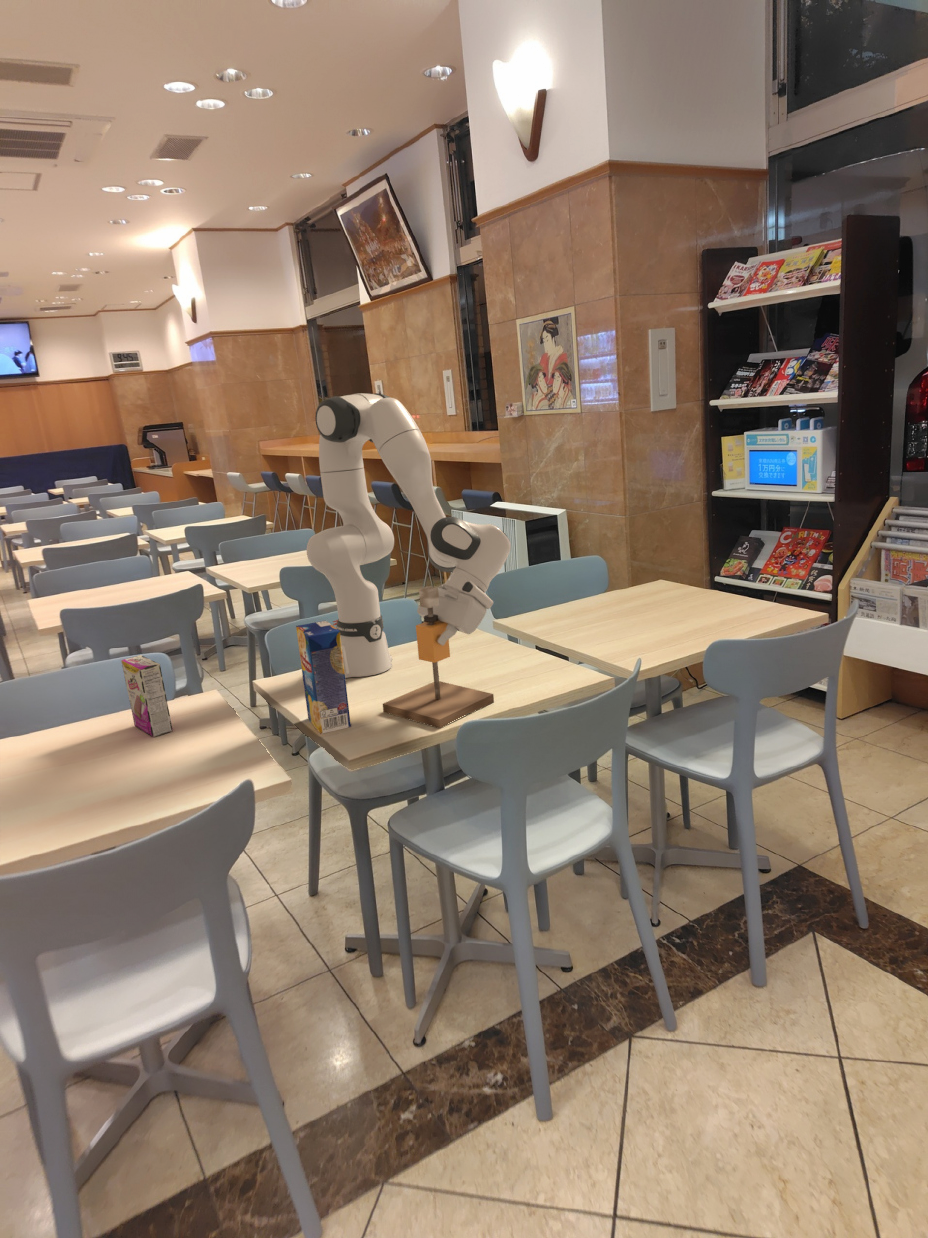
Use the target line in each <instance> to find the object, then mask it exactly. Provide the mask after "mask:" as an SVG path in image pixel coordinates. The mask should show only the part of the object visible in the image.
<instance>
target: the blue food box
mask: <svg viewBox="0 0 928 1238" xmlns="http://www.w3.org/2000/svg"><path fill="white" fill-rule="evenodd" d="M295 628H296V636H297V643H298V651H299V659H300V660H299V661H300V664H301V665H300V666H301V674H302V679H303V682H302V683H303V688H304V689H303V690H304V696H305V702H306V703H305V704H306V711H307V712H306V713H307V718H308V720H309V721H310V722H311V723H312V725H313V726H314V727H315V729H316V730H317V731H318V733H320V734H321V735H323V734H326V733H331V732H335V731H338V730H343V729H347V728H351V727H352V724H351V718H350V717H351V716H350V706H349V701H348V700H349V699H348V689H347V681H346V678H345V672H344V664H343V655H342V647H341V638H340V631H339V630H338V629H336V626H335V625H332V624H331V623H330V622H329V621H328V620H322V621H316V622H315V621H314V622H310V623H305V624H304V623H303V624H299V625H296V626H295Z"/></svg>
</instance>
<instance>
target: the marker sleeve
mask: <svg viewBox="0 0 928 1238" xmlns="http://www.w3.org/2000/svg"><path fill="white" fill-rule="evenodd" d="M446 627H447V623H444V622H440V621H436V622H434V625H429V623H427V622H424V621H423V622H422V623H418V624H416V625H415V633H416V643H417V652H418V653H417V654H418V660H420V661H425V662H429V663H432V662H433V663H436V662H441V661H443V660H445V659H448V658H450V657H451V653H450V651H451V650H450V641H449V640H450V639H448V640H447V641H446V643H445V644H444V645H440V644H438V643H437V642H436V641H435V640H436V638H437V636H438V635H439V634H440V635H441V634H442V633H443V632H444V631H445V630H446Z"/></svg>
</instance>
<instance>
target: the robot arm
mask: <svg viewBox="0 0 928 1238" xmlns="http://www.w3.org/2000/svg"><path fill="white" fill-rule="evenodd" d="M314 418H315V425H316V428H317V431H318V432H319V441H318V462H319V463H318V464H319V472H320V480H321V486H322V487H321V489H322V495H323V496H322V497H323V500H324V503H325V504H326V506H327V507H329V508H330V509H332V510H334V511H336V512H337V513H338V514H339V516H340V517H341V521H342V523H343V524H342V525H340V526H334V527H330V528H327V529H326V528H325V529H324V530H321V531H320V532H317V533H316V534H314V535H312V536H311V537H310V538H309V539H308V542H307V546H306V555H307V556H306V557H307V559H308V562H309V563H310V565H311V566H312V568H314V569H315V571H318V572H319V573H321V574H322V575H324V576H325V578H326V579H327V581H328V582H329V583H330V586H331V587H332V590H333V592H334V597H335V602H336V609H337V616H338V619H336V620H334V621H332V623H333V626H335V628H336V629H338V630H339V631H340V638H341V647H342V655H343V664H344V672H345V679H348V678H359V677H361V678H362V677H368V676H374V675H379V674H383V673H385V672H386V671H388V670H390V669H391V668H392V666H393V664H392V661H393V656H392V655H391V654H390V651H389V644H388V641H387V637H386V636H387V635H386V633H385V631H384V618H383V615H381V608H380V599H379V590H378V588H377V587H378V586H376V585H375V583H373V582H372V581H369V580H367V579H365V578H364V576H363V574H362V571H361V566H363V565H367V564H370V563H375V562H377V561H379V560H381V559H383V558H385V557H387V556H388V555H390V554H391V553H392V551H393V550H394V546H395V536H394V533H393V530H392V529H391V527H390V526H389V525H388V524H387V523H386V522H384V521H383V520H382V519H380V517H379V516H378V515H377V513H376V512H375V510H374V508H373V506H372V504H371V501H370V498H369V493H368V487H367V480H366V473H365V468H364V467H365V466H364V465H365V464H364V460H363V459H364V458H363V447H364V445H365V443H366V442H367V441H369V442H370V443H373V444H374V447H375V449H376V450H377V452H378V454H379V457H380V458H381V460H382V462H383V464H384V465H385V467H386V468H387V470H388V472H389V473H390V475H391V477H393V479H394V480H395V482H396V483H397V485H398V486H399V488H400V489H401V491H402V492H403V494H404V495H405V497H406V498H407V500H408V502H409V504H410V505H411V507H412V509H413V512H414V514H415V516H416V517H417V519H418V522H419V524H420V526H421V528H422V530H423V532H424V534H425V537H426V541H427V542H426V543H427V545H426V546H427V557H428V560H429V563H430V564H431V565H432V566H433V567H434V568H435V569H437V570H438V571H440V572H443V573H451V574H450V575H449V576H448V578H447V580H446V581H445V583H444V584H443V583H442V584H440V585H439V586H437V587H438V594H439V605H438V606H435V607H433V614H435V615H438V621H440V622H444V623H447V627H446V630H445V631H444V632H443V633H442V634H441V635H440V634H439V635H438V636H437V638H436V640H435V641H436V642H437V643H438V644H440V645H444V644H445V643H446V641H447V640H448V639H449V640H450V639H451V638H452V637H453V636H455V635H456V634H457V632H461V633H463V634H466V635H471V634H472V633H474V632H475V631H476V630H477V629H478V627H479V626H480V624H481V623H482V621H483V619H484V618H485V616H486V614H487V610H490V609H491V608H492V607H493V605H494V600H492V599H491V598H490V597H489V596H488V595H487V594H486V592H487V591H488V589H489V586H490V583H491V581H492V580H493V579H494V578H495V577H496V576H497V575H498V574H499V572H500V571H501V569H502V567H503V566H504V564H505V563H506V561H507V558H508V557H509V555H510V551H511V541H510V538H509V537H508V535H507V534H506V533H505V532H504V531H503V530H502V529H501V528H499V527H498V526H497V525H495V524H492V523H487V524H479V523H473V522H469V521H466V520H463V519H461V518H458V517H456V516H446V514H445V513H444V510H443V508H442V506H441V504H440V502H439V500H438V498H437V495H436V493H435V489H434V484H433V471H432V470H433V469H432V457H431V453H430V450H429V448H428V445H427V442H426V439H425V437H424V436H423V433H422V431H421V429H420V428H419V426H418V424H417V423H416V421H415V420H414V418H413V417H412V415H411V414H410V412H409V411H408V410H407V408H406V407H405V406H404V404H403V403H402V402H400V400H398V399H396V398H395V397H390V396H388V395H386V394H383V393H379V392H378V393H362V392H361V393H359V392H358V393H352V394H347V395H343V396H338V395H337V396H336V395H335V396H331V397H329V398H326V399H324V400H322V401H321V402H320V403H319V404H318V405H317V407H316V411H315V417H314ZM416 612H417V614H418V615H419V616H420V617H422V618H423V619H424V616H426V615H428V609H427V608H426V607H420V604H419V605H418V607H417V611H416Z"/></svg>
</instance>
